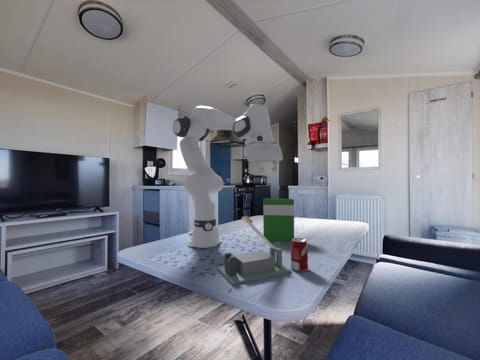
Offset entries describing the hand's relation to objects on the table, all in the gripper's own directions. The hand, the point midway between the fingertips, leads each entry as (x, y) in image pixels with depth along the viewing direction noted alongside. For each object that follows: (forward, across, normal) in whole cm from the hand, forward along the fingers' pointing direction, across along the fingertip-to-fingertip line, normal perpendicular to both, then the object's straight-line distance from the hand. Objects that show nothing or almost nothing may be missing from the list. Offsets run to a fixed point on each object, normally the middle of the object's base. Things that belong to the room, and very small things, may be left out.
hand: (268, 171), depth 103 cm
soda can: (+42, -2, +6) cm, 42 cm away
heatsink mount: (+39, +12, -5) cm, 41 cm away
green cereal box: (+38, -33, -28) cm, 57 cm away
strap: (+26, +9, -2) cm, 27 cm away
